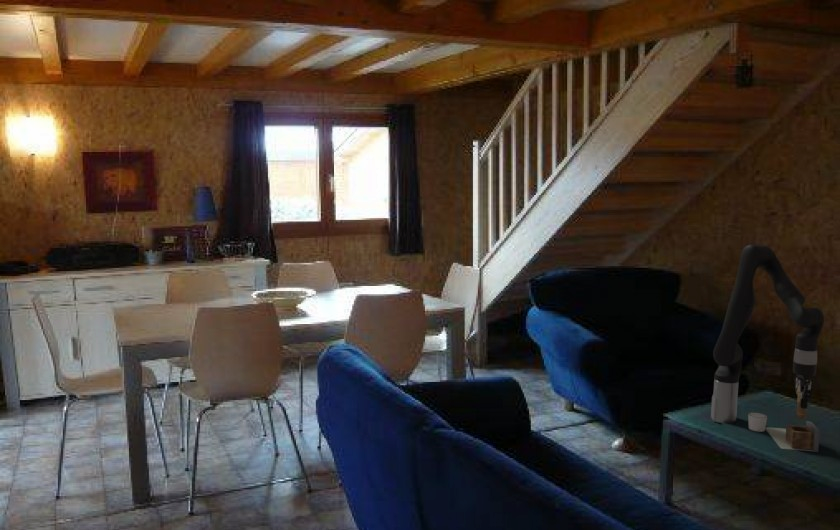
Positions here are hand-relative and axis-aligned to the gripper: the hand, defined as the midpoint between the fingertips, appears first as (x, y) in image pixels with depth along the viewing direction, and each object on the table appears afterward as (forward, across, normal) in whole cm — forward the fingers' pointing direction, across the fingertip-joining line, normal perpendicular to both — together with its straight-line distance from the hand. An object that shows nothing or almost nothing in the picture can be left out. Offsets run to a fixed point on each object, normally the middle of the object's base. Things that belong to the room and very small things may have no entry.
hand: (801, 406), depth 255 cm
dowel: (+4, 0, 0) cm, 4 cm away
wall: (+15, 0, -4) cm, 16 cm away
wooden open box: (+15, 0, 0) cm, 15 cm away
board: (+16, +6, +1) cm, 18 cm away
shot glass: (+16, +15, +11) cm, 25 cm away
